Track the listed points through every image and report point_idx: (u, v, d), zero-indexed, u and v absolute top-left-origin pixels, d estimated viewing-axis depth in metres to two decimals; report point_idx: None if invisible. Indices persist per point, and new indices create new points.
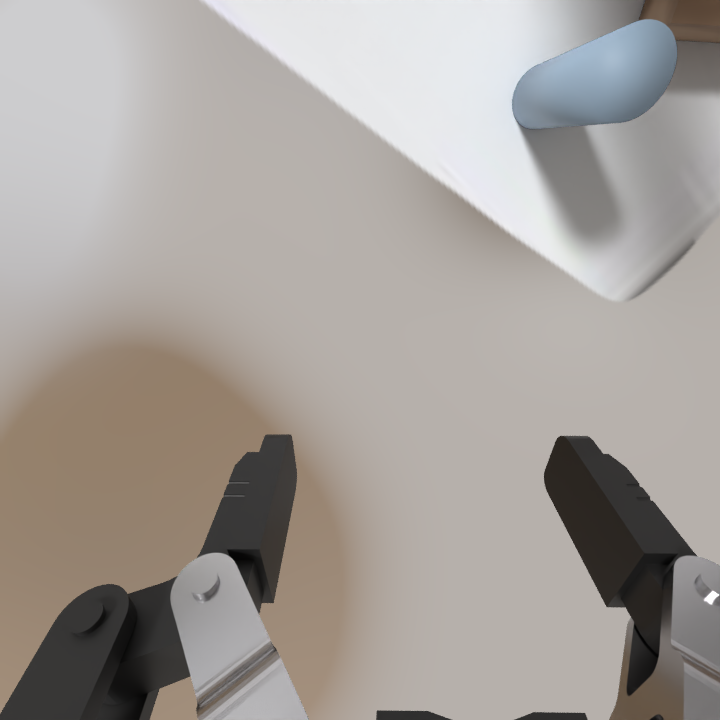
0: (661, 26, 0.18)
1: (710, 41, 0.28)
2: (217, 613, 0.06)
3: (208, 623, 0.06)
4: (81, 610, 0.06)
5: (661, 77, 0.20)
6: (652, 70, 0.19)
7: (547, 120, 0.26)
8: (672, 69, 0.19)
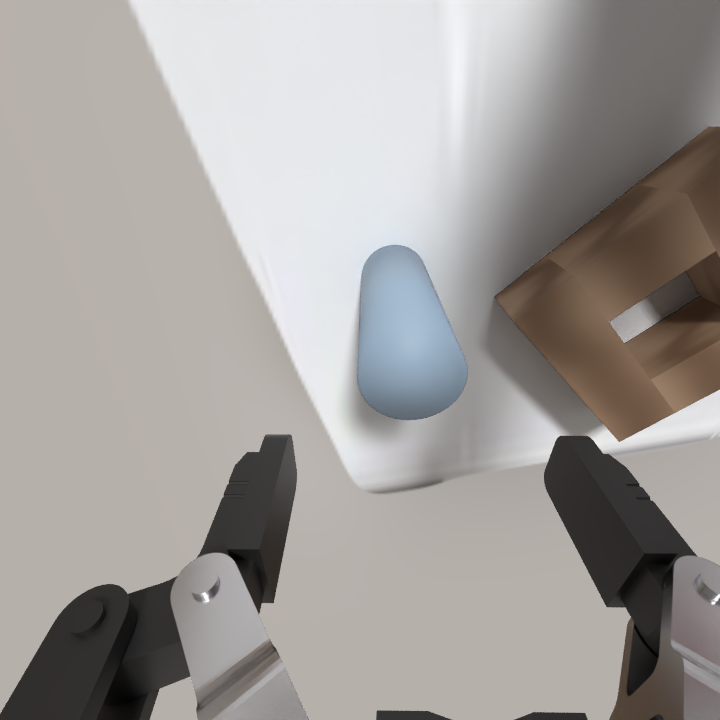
0: (461, 359, 0.14)
1: None
2: (217, 612, 0.06)
3: (208, 623, 0.06)
4: (81, 610, 0.06)
5: (436, 402, 0.15)
6: (432, 390, 0.15)
7: None
8: (449, 403, 0.15)
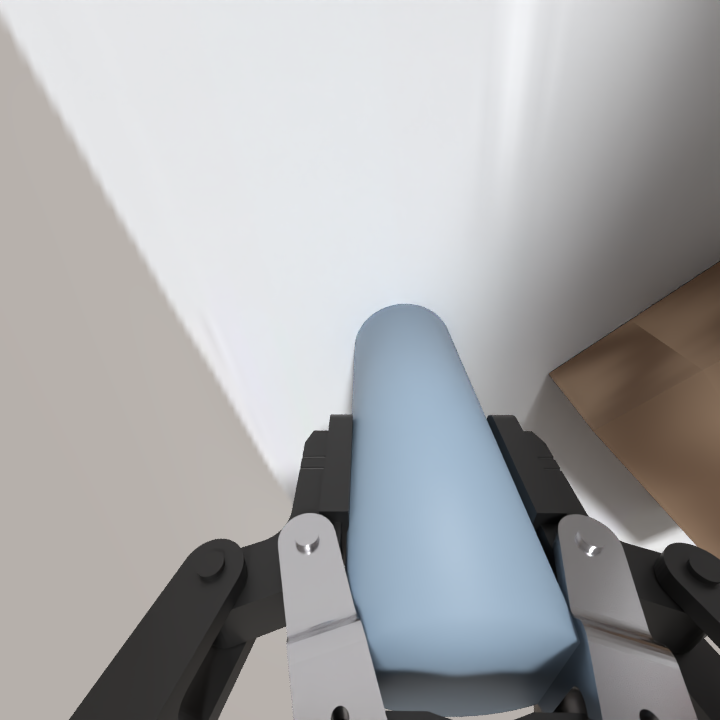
0: None
1: None
2: (312, 567, 0.07)
3: (318, 571, 0.07)
4: (207, 556, 0.07)
5: (509, 701, 0.07)
6: (503, 687, 0.07)
7: None
8: (536, 701, 0.07)
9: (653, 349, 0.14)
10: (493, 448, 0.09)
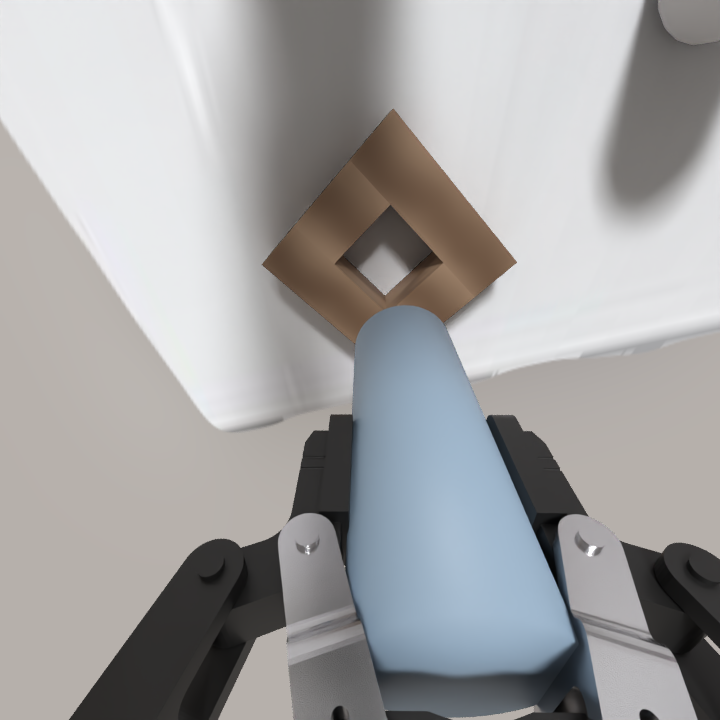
0: None
1: None
2: (313, 567, 0.07)
3: (318, 571, 0.07)
4: (207, 556, 0.07)
5: (508, 702, 0.07)
6: (502, 689, 0.07)
7: None
8: (535, 702, 0.07)
9: (294, 225, 0.29)
10: (492, 450, 0.09)
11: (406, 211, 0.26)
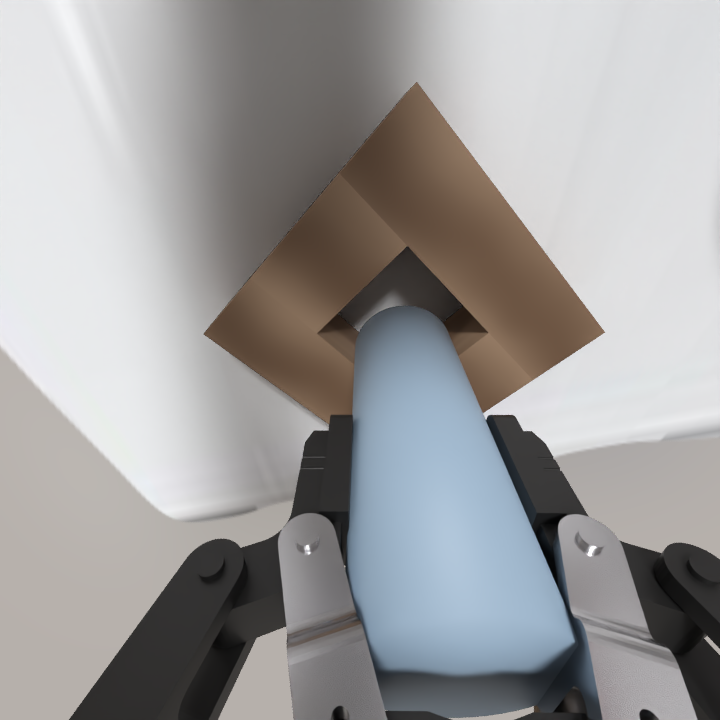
0: None
1: None
2: (313, 567, 0.07)
3: (318, 571, 0.07)
4: (206, 556, 0.07)
5: (508, 702, 0.07)
6: (502, 689, 0.07)
7: None
8: (535, 703, 0.07)
9: None
10: (493, 450, 0.09)
11: (434, 257, 0.16)
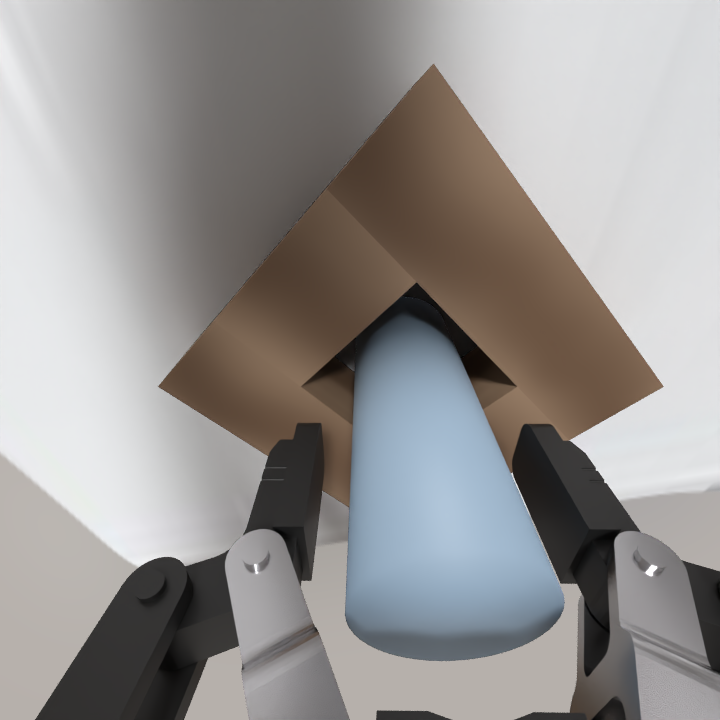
0: (555, 595, 0.07)
1: None
2: (265, 585, 0.07)
3: (263, 591, 0.07)
4: (146, 578, 0.07)
5: (495, 643, 0.08)
6: (489, 629, 0.08)
7: None
8: (520, 644, 0.08)
9: None
10: (483, 423, 0.10)
11: (451, 296, 0.12)
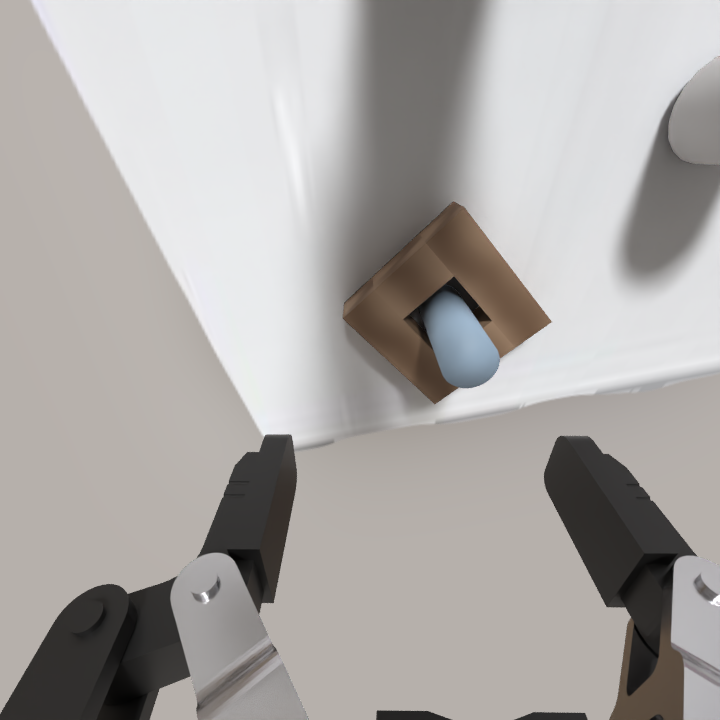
0: (496, 354, 0.27)
1: None
2: (217, 613, 0.06)
3: (208, 623, 0.06)
4: (81, 610, 0.06)
5: (481, 377, 0.28)
6: (480, 370, 0.28)
7: (427, 332, 0.33)
8: (488, 378, 0.28)
9: (370, 286, 0.35)
10: (478, 322, 0.30)
11: (466, 281, 0.32)
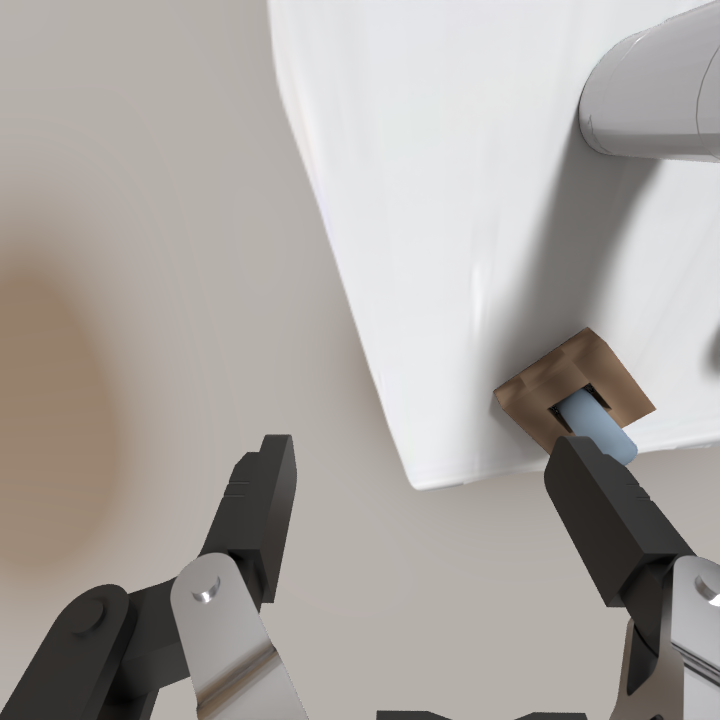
0: (636, 449, 0.40)
1: None
2: (217, 613, 0.06)
3: (208, 623, 0.06)
4: (81, 610, 0.06)
5: (622, 463, 0.41)
6: (622, 459, 0.41)
7: (567, 420, 0.46)
8: (627, 463, 0.41)
9: (521, 384, 0.47)
10: (613, 420, 0.43)
11: (598, 385, 0.45)
